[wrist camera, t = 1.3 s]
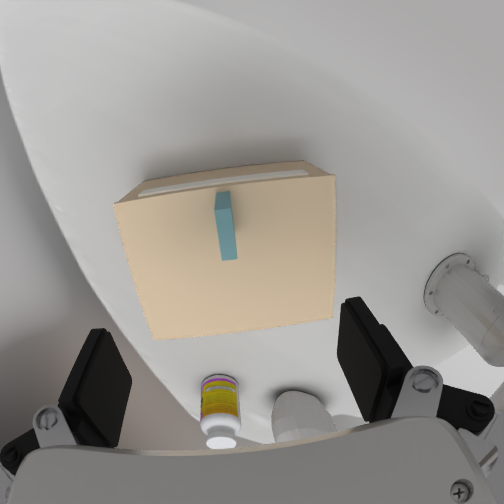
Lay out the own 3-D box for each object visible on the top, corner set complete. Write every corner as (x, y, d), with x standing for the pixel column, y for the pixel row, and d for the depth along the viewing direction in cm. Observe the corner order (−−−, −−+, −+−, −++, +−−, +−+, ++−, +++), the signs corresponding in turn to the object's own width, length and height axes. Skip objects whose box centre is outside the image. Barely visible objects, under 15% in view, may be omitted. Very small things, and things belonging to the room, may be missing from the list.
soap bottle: (254, 403, 54) (270, 523, 30) (282, 377, 51) (311, 507, 28) (307, 418, 58) (334, 521, 35) (335, 395, 56) (373, 503, 32)
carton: (303, 158, 36) (329, 172, 27) (307, 273, 43) (328, 314, 34) (143, 179, 35) (117, 199, 26) (168, 291, 42) (156, 336, 33)
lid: (333, 174, 27) (359, 188, 21) (331, 314, 34) (349, 349, 28) (115, 202, 26) (90, 223, 21) (154, 336, 33) (145, 374, 27)
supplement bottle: (197, 375, 50) (194, 435, 38) (233, 370, 50) (238, 431, 38) (207, 398, 52) (206, 454, 41) (241, 393, 52) (246, 450, 41)
